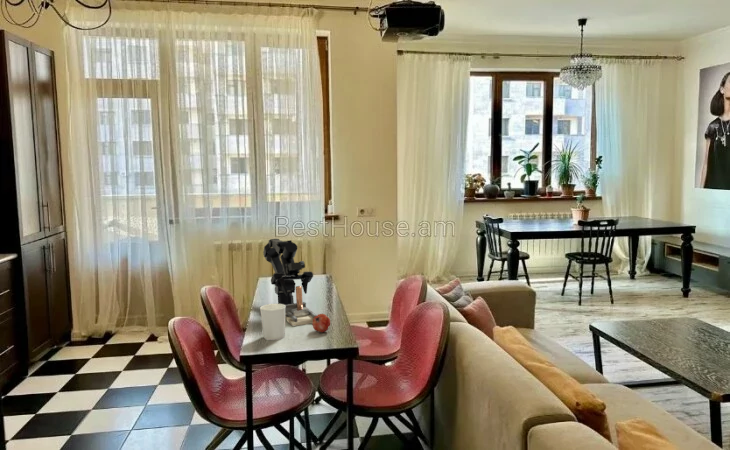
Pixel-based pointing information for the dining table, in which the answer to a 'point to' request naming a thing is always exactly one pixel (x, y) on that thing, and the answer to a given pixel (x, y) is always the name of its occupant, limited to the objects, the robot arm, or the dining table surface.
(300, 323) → the press frame
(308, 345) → the dining table surface
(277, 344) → the dining table surface
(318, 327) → the pomegranate
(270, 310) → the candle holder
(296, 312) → the press jaw
